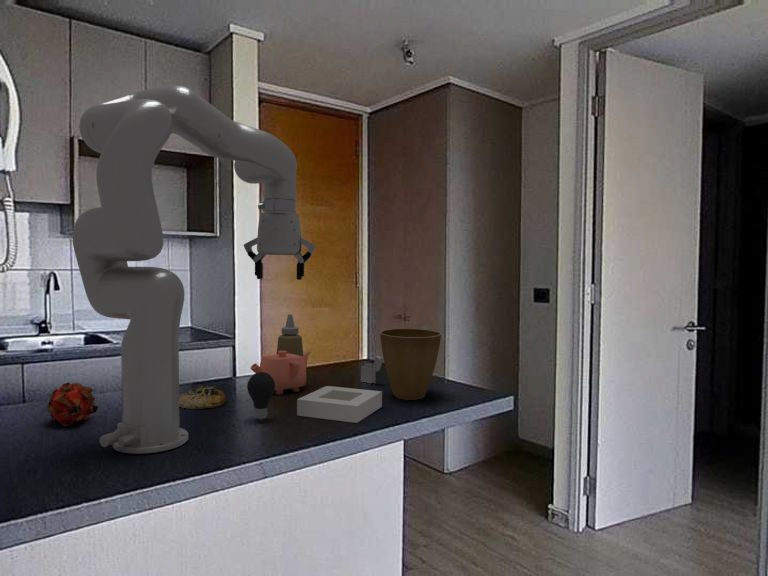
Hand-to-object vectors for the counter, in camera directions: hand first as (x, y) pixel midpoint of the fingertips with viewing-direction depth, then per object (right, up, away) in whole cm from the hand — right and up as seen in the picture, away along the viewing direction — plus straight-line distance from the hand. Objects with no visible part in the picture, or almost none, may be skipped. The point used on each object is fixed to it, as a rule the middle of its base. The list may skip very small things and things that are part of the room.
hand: (279, 279), depth 137 cm
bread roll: (-17, -29, -7) cm, 34 cm away
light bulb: (0, -30, -20) cm, 36 cm away
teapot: (0, -28, +7) cm, 29 cm away
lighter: (+22, -28, +15) cm, 39 cm away
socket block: (+16, -29, -12) cm, 35 cm away
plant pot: (+32, -29, +1) cm, 43 cm away
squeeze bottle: (-1, -28, +20) cm, 34 cm away
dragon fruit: (-38, -29, -23) cm, 53 cm away
